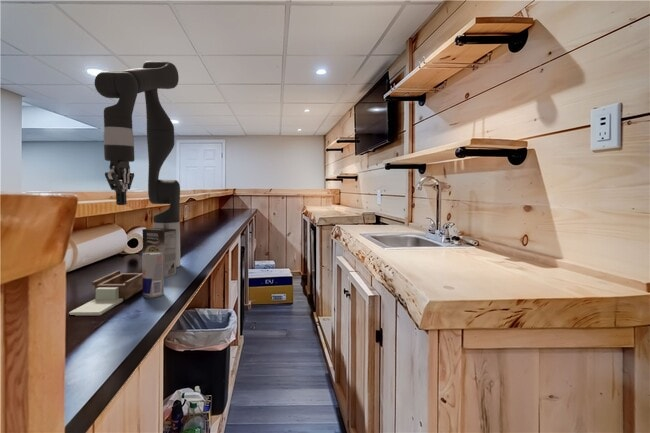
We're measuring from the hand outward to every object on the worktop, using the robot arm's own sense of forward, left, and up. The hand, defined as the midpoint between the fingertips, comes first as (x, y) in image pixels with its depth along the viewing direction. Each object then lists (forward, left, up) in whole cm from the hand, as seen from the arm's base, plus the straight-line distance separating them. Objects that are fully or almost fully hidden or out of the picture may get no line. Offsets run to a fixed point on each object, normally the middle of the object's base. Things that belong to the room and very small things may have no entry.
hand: (121, 204), depth 106 cm
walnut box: (+3, +1, -25) cm, 25 cm away
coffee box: (-19, +4, -25) cm, 32 cm away
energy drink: (+6, +11, -25) cm, 28 cm away
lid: (+17, +1, -26) cm, 31 cm away
